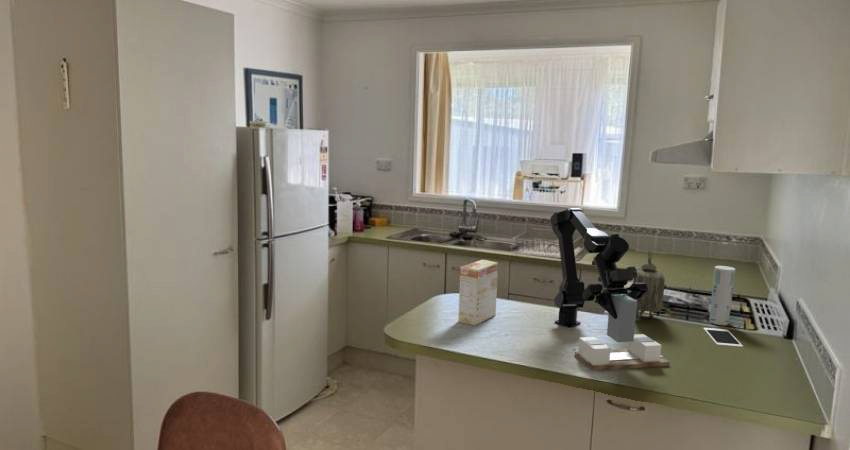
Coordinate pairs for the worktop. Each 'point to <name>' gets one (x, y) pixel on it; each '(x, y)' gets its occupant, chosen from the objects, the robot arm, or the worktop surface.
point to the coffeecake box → (478, 292)
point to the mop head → (650, 288)
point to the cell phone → (722, 337)
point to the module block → (622, 319)
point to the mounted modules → (640, 347)
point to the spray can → (722, 295)
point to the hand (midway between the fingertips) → (624, 317)
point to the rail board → (623, 361)
